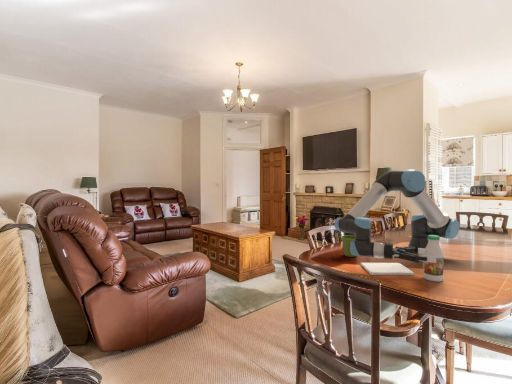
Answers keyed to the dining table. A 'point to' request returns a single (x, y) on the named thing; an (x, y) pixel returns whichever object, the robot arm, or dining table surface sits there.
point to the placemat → (386, 269)
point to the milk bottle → (436, 269)
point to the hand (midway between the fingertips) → (435, 255)
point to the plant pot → (347, 244)
